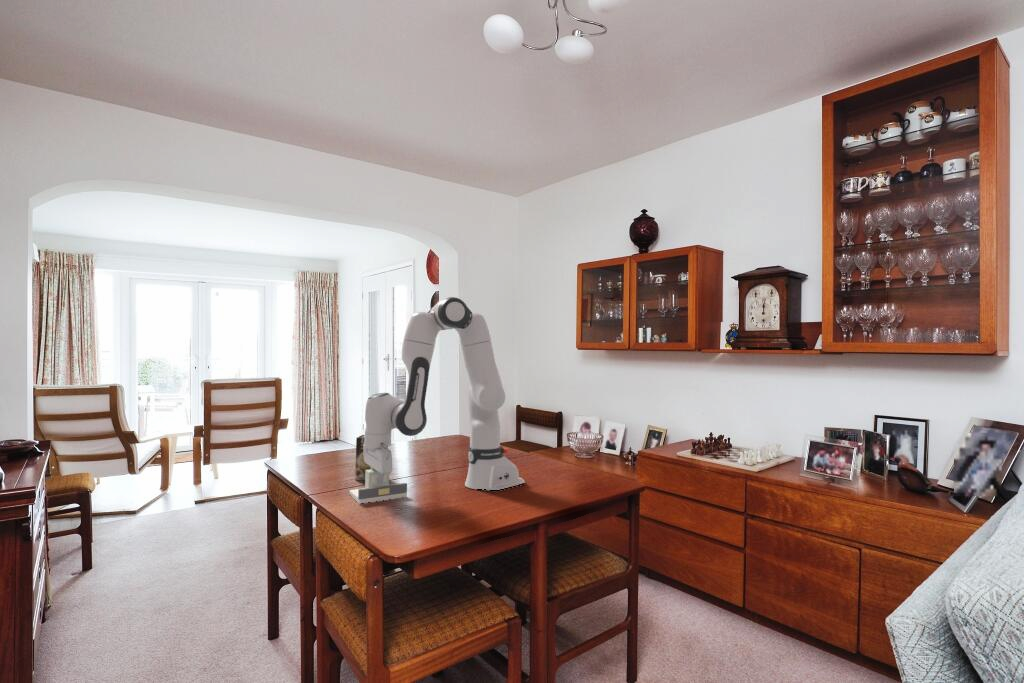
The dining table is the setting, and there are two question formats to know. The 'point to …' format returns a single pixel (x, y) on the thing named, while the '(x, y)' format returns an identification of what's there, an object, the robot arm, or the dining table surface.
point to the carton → (374, 479)
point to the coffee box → (360, 460)
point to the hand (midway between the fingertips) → (377, 481)
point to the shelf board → (379, 493)
